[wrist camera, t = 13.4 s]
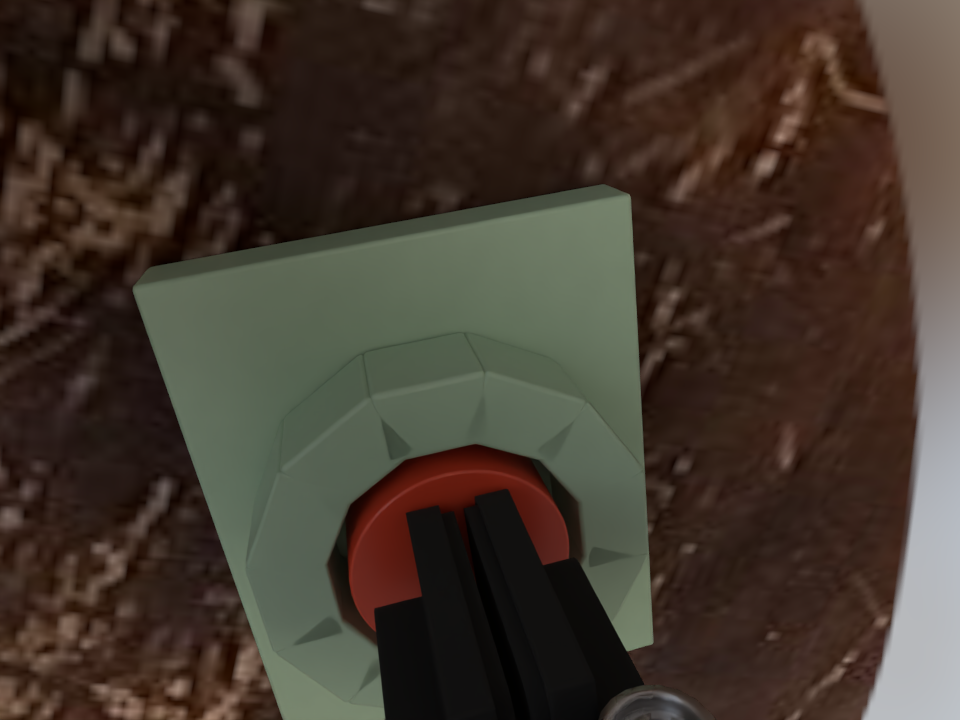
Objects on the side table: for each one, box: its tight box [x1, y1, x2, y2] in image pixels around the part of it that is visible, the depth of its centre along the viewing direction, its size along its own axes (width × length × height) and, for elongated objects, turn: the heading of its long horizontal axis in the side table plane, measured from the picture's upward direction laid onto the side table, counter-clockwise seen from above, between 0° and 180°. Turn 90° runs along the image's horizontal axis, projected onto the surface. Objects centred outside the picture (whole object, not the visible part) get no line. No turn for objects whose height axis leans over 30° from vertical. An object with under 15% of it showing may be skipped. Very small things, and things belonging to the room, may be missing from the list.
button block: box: [133, 184, 653, 720], centre depth 13 cm, size 10×8×3 cm
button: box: [345, 444, 569, 632], centre depth 12 cm, size 4×4×2 cm
